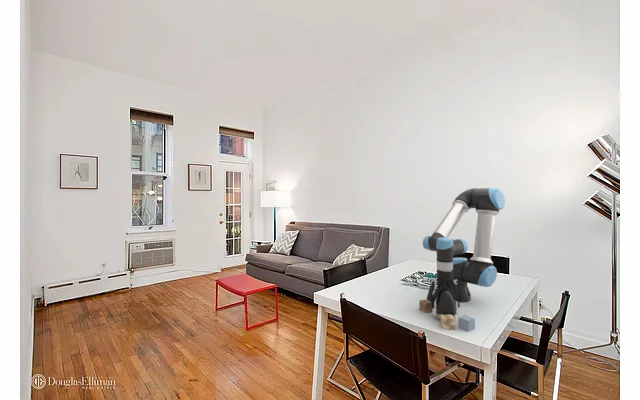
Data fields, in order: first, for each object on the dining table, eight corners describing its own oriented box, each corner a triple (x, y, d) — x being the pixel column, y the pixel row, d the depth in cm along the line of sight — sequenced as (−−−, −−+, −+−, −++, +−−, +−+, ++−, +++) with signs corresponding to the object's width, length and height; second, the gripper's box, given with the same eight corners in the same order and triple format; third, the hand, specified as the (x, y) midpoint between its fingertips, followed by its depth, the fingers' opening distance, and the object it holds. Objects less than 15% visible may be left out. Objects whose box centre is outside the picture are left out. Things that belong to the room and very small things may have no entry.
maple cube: (451, 325, 149) (451, 314, 149) (455, 329, 144) (454, 319, 144) (440, 324, 149) (440, 314, 149) (443, 329, 144) (443, 318, 144)
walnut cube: (427, 308, 170) (427, 299, 169) (433, 311, 165) (433, 302, 165) (419, 309, 168) (419, 300, 168) (425, 313, 163) (425, 303, 163)
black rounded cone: (450, 314, 161) (450, 284, 160) (460, 322, 151) (460, 291, 150) (430, 314, 161) (430, 285, 160) (439, 323, 150) (439, 292, 150)
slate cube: (464, 325, 148) (464, 314, 148) (474, 328, 144) (474, 318, 144) (458, 327, 146) (458, 317, 146) (468, 331, 142) (468, 320, 141)
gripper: (463, 266, 159) (463, 310, 160) (419, 268, 158) (419, 312, 159) (471, 270, 152) (471, 316, 153) (425, 272, 150) (425, 318, 151)
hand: (445, 314), depth 156 cm, fingers closed on black rounded cone, 10 cm apart
